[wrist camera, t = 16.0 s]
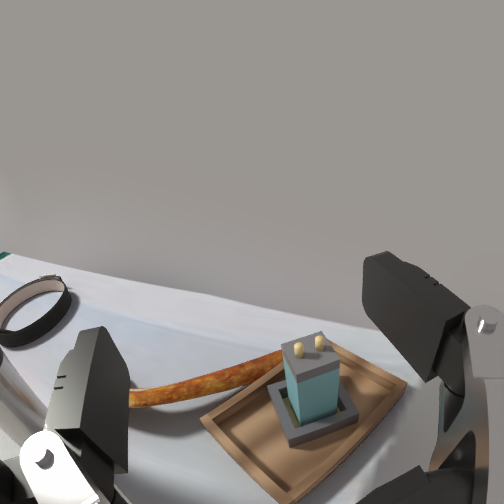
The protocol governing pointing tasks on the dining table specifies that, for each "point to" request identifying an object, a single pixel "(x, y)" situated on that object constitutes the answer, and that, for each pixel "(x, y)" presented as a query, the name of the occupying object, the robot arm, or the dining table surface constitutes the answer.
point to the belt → (40, 325)
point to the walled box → (307, 454)
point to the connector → (311, 377)
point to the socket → (316, 429)
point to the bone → (206, 383)
